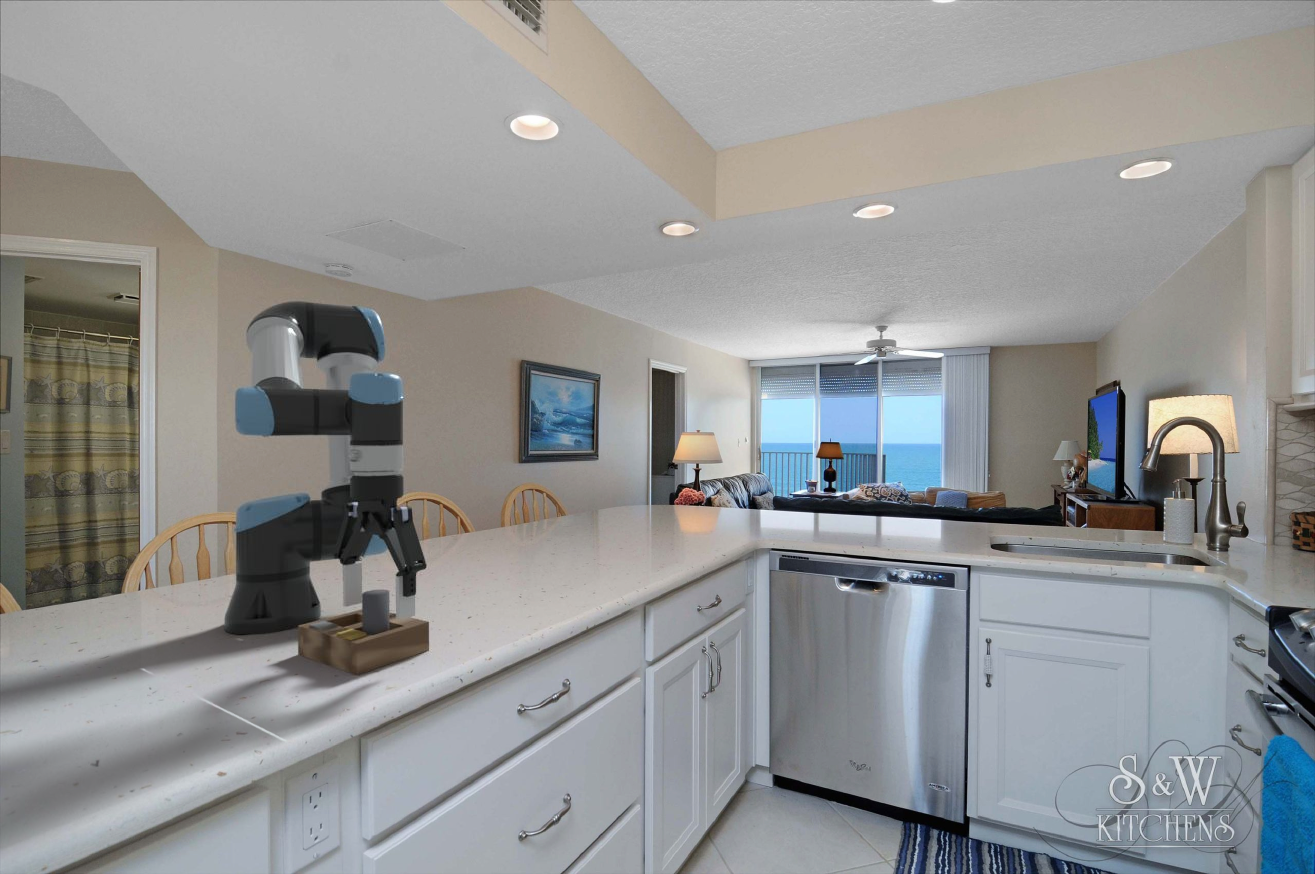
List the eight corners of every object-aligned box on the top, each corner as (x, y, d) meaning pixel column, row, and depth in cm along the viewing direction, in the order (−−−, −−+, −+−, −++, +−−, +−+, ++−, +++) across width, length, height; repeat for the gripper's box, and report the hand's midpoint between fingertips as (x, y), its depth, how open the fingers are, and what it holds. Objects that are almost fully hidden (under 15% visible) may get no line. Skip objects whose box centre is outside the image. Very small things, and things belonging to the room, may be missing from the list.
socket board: (298, 654, 96) (297, 623, 96) (369, 633, 106) (369, 605, 106) (357, 675, 87) (357, 640, 87) (429, 650, 97) (428, 619, 97)
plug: (380, 651, 97) (380, 588, 97) (394, 656, 95) (394, 591, 95) (357, 658, 94) (357, 593, 94) (370, 663, 92) (370, 597, 92)
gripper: (308, 472, 98) (310, 604, 98) (406, 477, 85) (407, 630, 85) (353, 470, 104) (354, 594, 105) (450, 474, 91) (451, 617, 91)
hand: (378, 611), depth 95 cm, fingers open, 13 cm apart
